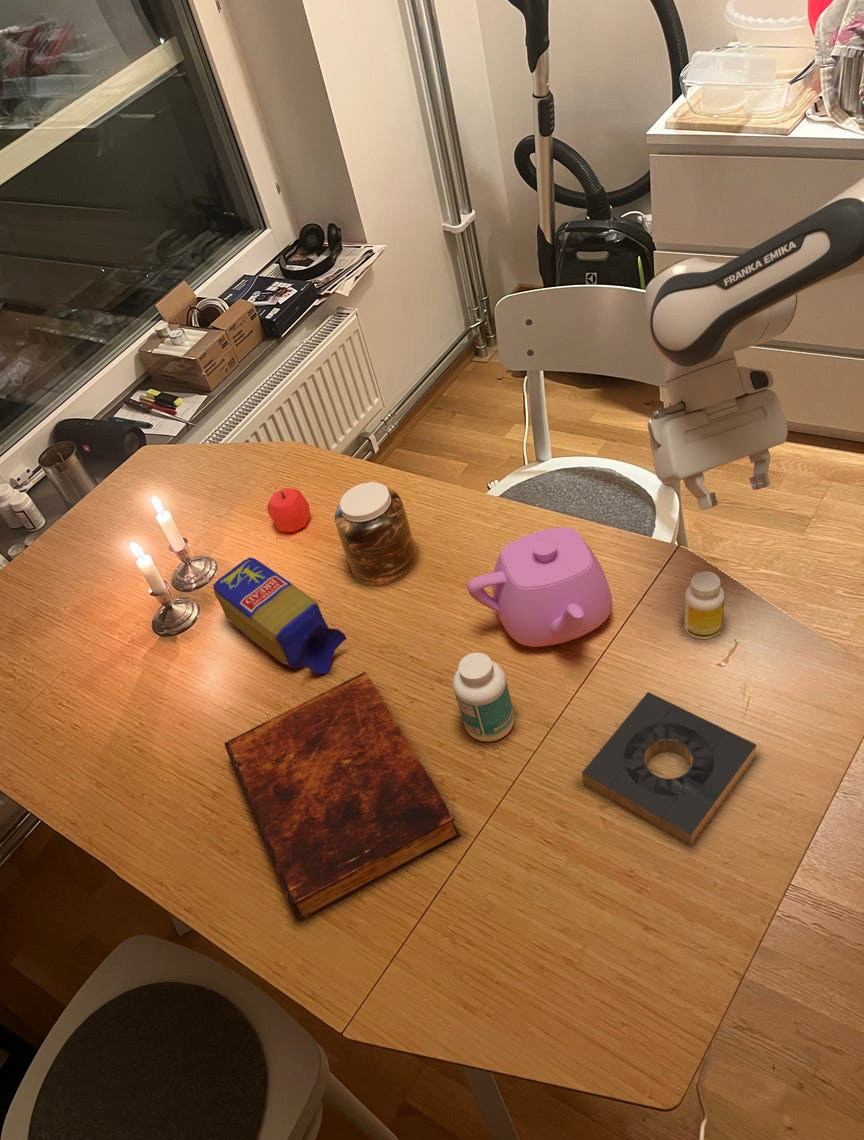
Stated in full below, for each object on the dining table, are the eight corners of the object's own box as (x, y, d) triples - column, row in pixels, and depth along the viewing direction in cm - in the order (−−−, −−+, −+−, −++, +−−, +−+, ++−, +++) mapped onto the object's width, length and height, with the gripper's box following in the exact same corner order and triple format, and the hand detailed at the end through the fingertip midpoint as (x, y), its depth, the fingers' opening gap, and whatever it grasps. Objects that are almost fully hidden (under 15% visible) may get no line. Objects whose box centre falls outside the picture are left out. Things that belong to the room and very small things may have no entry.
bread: (268, 588, 164) (249, 547, 156) (355, 652, 149) (339, 610, 141) (224, 622, 160) (202, 582, 153) (309, 692, 146) (289, 650, 138)
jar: (365, 537, 167) (344, 473, 156) (425, 541, 162) (408, 476, 151) (343, 584, 160) (319, 520, 149) (404, 589, 156) (385, 525, 145)
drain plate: (755, 757, 121) (756, 744, 118) (690, 846, 115) (691, 834, 112) (648, 704, 130) (648, 691, 127) (583, 784, 124) (581, 772, 121)
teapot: (464, 601, 151) (449, 534, 140) (587, 563, 150) (581, 493, 139) (504, 705, 135) (490, 639, 124) (641, 663, 135) (639, 593, 124)
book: (234, 761, 140) (223, 743, 136) (374, 690, 143) (366, 671, 139) (301, 922, 120) (289, 906, 116) (461, 836, 123) (455, 817, 119)
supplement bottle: (728, 634, 134) (732, 588, 127) (692, 644, 135) (694, 599, 128) (713, 609, 138) (716, 563, 131) (678, 618, 138) (679, 573, 131)
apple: (314, 506, 176) (302, 473, 170) (314, 533, 171) (302, 501, 165) (275, 514, 177) (261, 482, 171) (273, 542, 172) (260, 510, 166)
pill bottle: (516, 702, 135) (505, 644, 125) (513, 744, 130) (500, 686, 121) (467, 702, 137) (451, 644, 127) (461, 743, 132) (445, 687, 123)
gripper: (662, 406, 109) (694, 516, 111) (780, 369, 117) (809, 472, 119) (628, 419, 115) (659, 524, 117) (743, 383, 123) (771, 481, 124)
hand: (736, 498), depth 118 cm, fingers open, 8 cm apart
